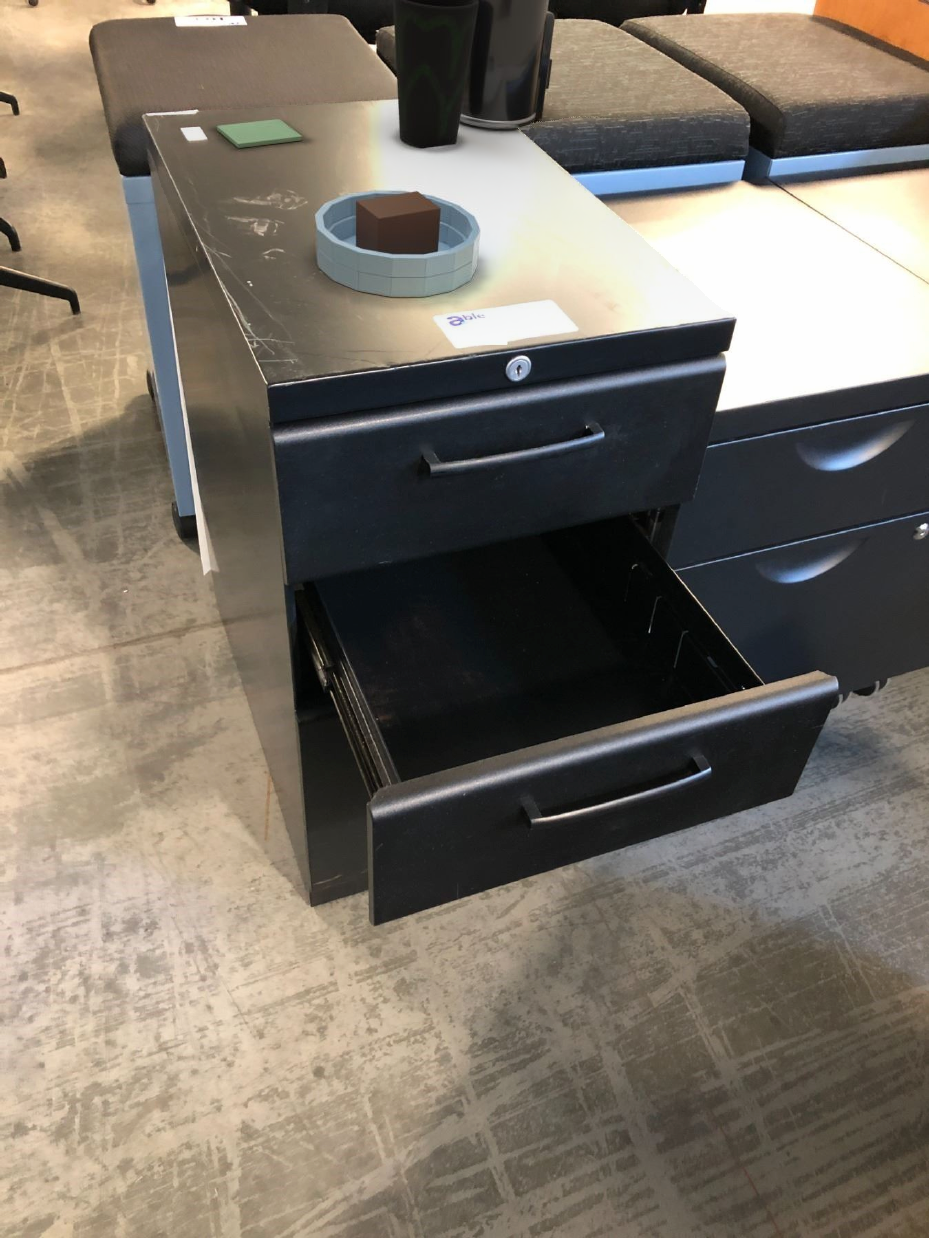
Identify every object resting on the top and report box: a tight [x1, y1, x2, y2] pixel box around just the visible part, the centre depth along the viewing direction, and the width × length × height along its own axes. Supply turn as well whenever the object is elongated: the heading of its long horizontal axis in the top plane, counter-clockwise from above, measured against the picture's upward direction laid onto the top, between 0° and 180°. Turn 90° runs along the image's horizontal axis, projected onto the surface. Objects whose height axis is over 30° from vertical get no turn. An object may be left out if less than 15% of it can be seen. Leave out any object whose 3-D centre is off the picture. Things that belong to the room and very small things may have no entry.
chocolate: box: [356, 190, 441, 255], centre depth 72 cm, size 5×3×4 cm, turn 123°
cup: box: [392, 0, 479, 149], centre depth 90 cm, size 8×8×12 cm
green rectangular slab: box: [216, 118, 303, 149], centre depth 91 cm, size 6×5×1 cm
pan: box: [314, 189, 481, 298], centre depth 72 cm, size 12×12×4 cm
